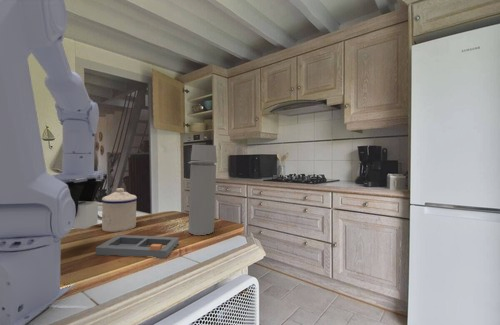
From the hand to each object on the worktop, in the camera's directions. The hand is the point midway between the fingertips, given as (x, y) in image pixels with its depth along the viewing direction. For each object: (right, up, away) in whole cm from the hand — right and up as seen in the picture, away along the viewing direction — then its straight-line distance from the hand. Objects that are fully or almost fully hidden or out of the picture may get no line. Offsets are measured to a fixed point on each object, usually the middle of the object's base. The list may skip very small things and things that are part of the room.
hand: (77, 214), depth 52 cm
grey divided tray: (+13, -9, +1) cm, 16 cm away
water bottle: (+24, -9, +15) cm, 29 cm away
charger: (0, -2, 0) cm, 2 cm away
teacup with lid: (-1, -8, +16) cm, 18 cm away
